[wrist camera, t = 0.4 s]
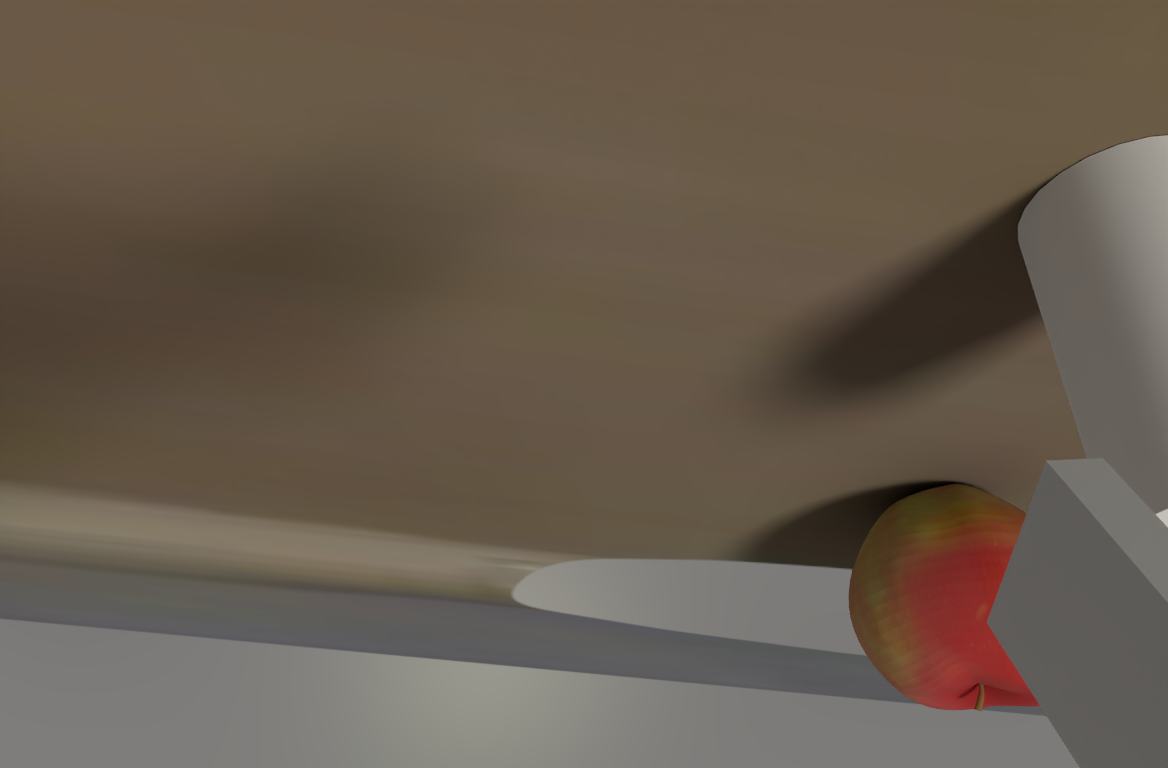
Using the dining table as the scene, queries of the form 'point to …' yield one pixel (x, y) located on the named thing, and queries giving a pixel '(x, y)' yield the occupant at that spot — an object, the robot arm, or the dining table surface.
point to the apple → (939, 598)
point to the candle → (1109, 304)
